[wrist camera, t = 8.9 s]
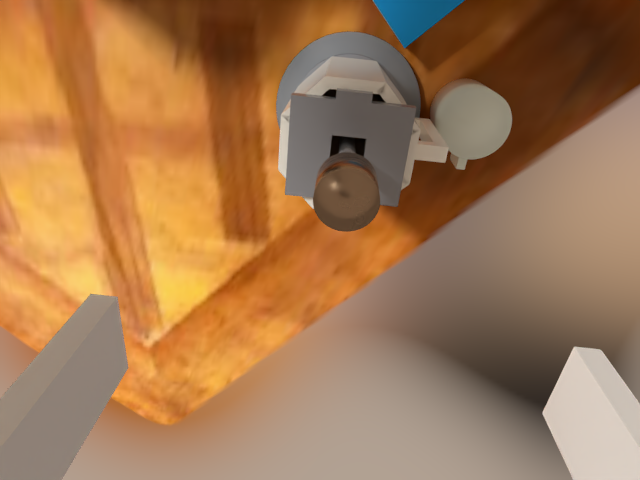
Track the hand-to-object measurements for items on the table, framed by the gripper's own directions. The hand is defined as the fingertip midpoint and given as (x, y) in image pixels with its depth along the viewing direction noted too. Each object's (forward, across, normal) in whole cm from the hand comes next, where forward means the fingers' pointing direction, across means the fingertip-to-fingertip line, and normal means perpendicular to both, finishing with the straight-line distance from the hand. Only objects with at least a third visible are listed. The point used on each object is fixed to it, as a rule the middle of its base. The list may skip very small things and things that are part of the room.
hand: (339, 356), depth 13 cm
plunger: (+28, 0, 0) cm, 28 cm away
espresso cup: (+35, +11, +1) cm, 37 cm away
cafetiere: (+34, +1, 0) cm, 35 cm away
